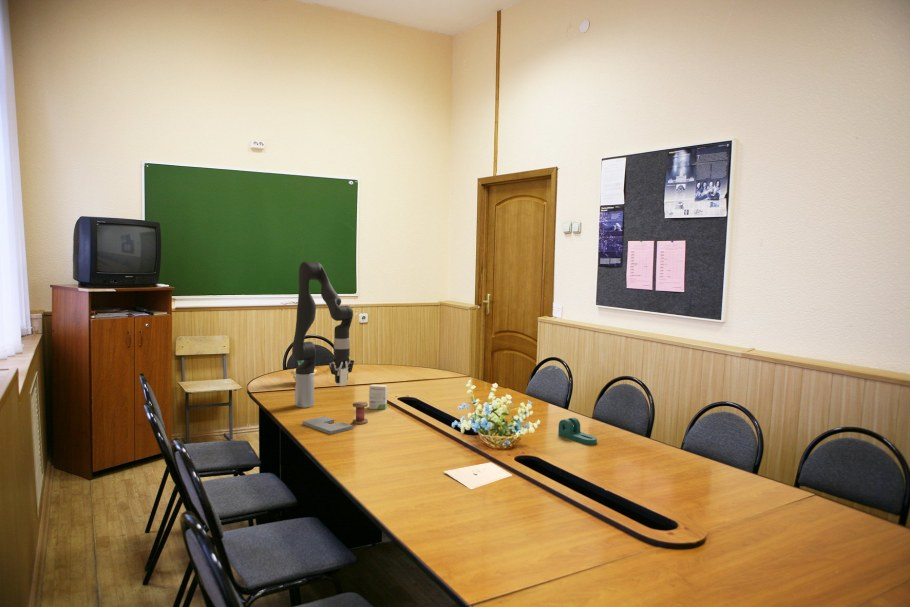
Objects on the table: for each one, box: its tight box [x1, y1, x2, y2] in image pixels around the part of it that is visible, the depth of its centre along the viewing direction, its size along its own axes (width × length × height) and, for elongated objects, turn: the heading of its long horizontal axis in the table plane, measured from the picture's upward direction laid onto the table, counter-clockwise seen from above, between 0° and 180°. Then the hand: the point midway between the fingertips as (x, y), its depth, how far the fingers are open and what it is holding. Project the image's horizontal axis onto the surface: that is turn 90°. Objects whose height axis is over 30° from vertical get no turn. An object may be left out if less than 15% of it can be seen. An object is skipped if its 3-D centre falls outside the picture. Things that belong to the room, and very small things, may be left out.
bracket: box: [557, 417, 598, 446], centre depth 262 cm, size 18×7×8 cm, turn 37°
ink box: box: [368, 384, 388, 410], centre depth 308 cm, size 9×5×12 cm, turn 84°
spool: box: [352, 401, 369, 425], centre depth 282 cm, size 7×7×9 cm
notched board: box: [302, 415, 354, 435], centre depth 274 cm, size 22×12×2 cm, turn 48°
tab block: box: [335, 368, 349, 387], centre depth 288 cm, size 4×4×8 cm
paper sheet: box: [443, 462, 513, 490], centre depth 213 cm, size 24×29×1 cm
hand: (341, 382), depth 288 cm, fingers closed on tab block, 4 cm apart
